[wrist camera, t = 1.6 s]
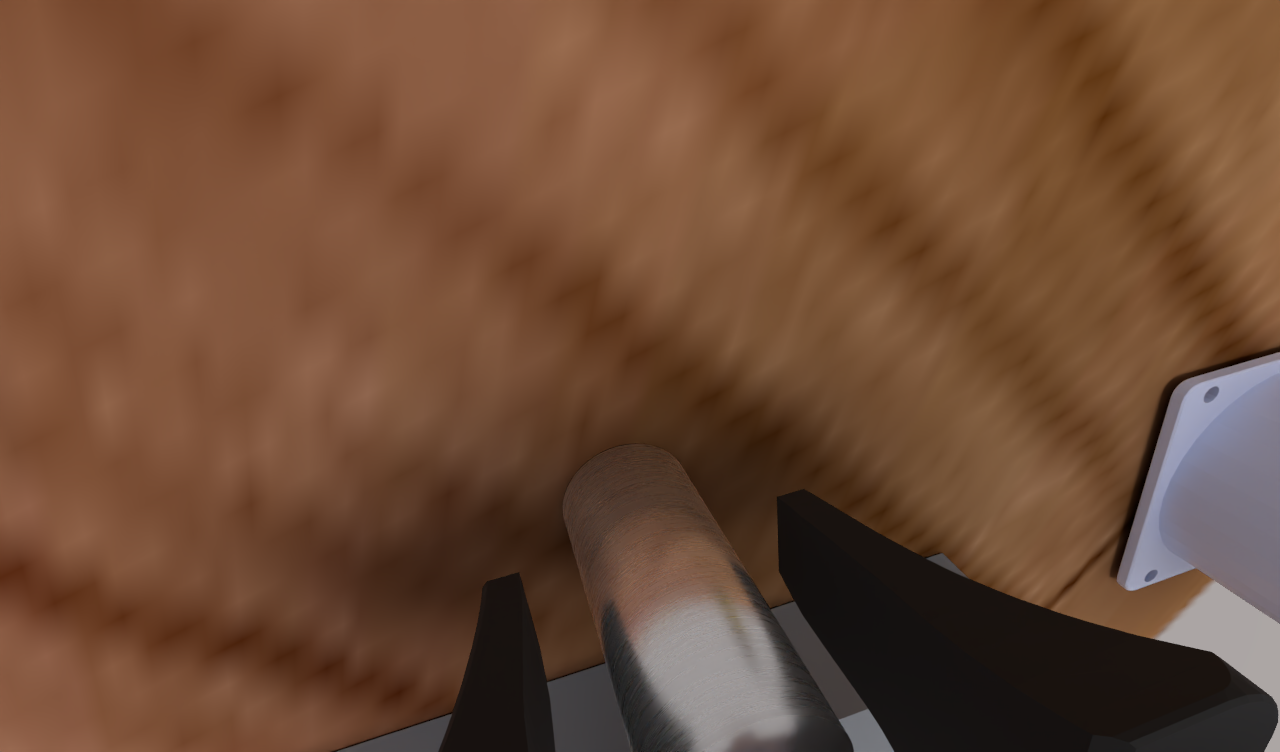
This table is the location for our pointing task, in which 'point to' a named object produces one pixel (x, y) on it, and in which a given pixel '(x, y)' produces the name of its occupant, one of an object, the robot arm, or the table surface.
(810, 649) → the hole block
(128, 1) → the table surface
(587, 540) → the metal peg
